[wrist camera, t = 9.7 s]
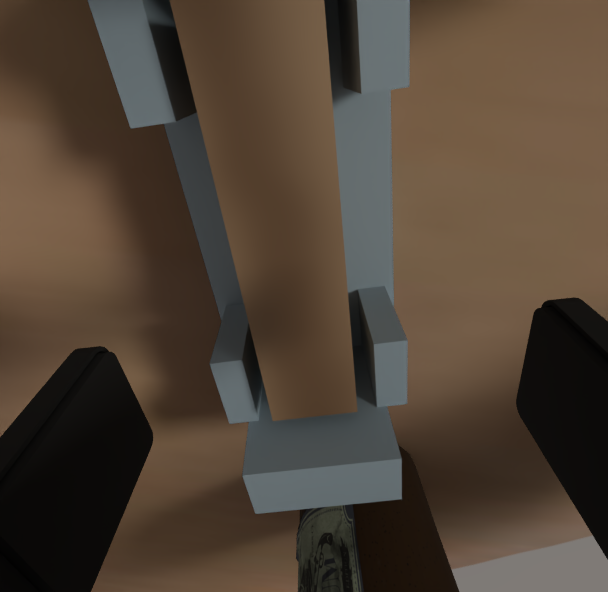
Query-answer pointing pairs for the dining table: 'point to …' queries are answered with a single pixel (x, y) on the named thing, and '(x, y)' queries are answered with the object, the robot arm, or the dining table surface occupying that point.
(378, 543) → the olive oil
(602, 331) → the robot arm
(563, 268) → the dining table surface
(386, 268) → the grey bracket base
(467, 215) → the dining table surface
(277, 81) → the rail
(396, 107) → the dining table surface
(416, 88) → the dining table surface
